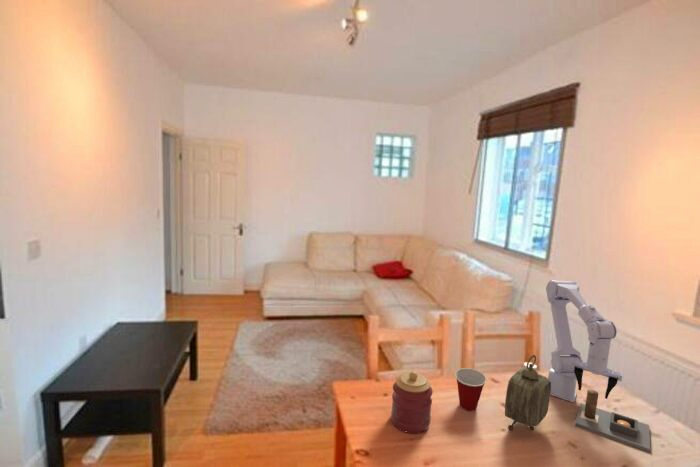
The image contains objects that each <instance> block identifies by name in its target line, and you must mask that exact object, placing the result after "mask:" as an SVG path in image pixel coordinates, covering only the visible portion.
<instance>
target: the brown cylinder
mask: <svg viewBox="0 0 700 467" xmlns="http://www.w3.org/2000/svg"><path fill="white" fill-rule="evenodd" d="M598 398H599V392H598V391H596V390H593V389H587V392H586V399H585V404H586V405H585V412H584V416H585V417H587V418H589V419H595V415H596V408H598Z"/></svg>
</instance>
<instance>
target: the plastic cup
mask: <svg viewBox="0 0 700 467" xmlns="http://www.w3.org/2000/svg"><path fill="white" fill-rule="evenodd" d="M454 376H455V379H456V384H457V391H458V400H459V401H458V402H459V406H460V408H461V407H462V408H461V409H463V410H465V411H467V410H468V412H472V411H473V412H474V411H476V409H477V407H478V404H479V401H480V399H481V396H482V391H483V388H484V386H485V384H486V383H487V376H486V375H485V374H484V373H483V372H481V371H479V370H477V369H474V368H469V367H463V368H458V369H457V370H456V371H455V373H454Z"/></svg>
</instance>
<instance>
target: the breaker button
mask: <svg viewBox="0 0 700 467" xmlns="http://www.w3.org/2000/svg"><path fill="white" fill-rule="evenodd" d="M617 423H618V424H621V425H624V426H627V427H630V426H631V425H630V424H629V423H628V422H626V421H623V420H618V421H617Z"/></svg>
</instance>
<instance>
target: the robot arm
mask: <svg viewBox="0 0 700 467" xmlns="http://www.w3.org/2000/svg"><path fill="white" fill-rule="evenodd" d="M545 291H546V296H547V302H548V303H550V309H551V315H552V316H551V317H552V321H553V327H554V333H555V340H556V345H557V347H556V348H554V350H552V352H551V353H550V354H551V355H550V356H551V360H550V365H551V367H550V368H549V372H548V377H547V378H548V379H549V381H550V382H551V391H550V396H552V397H556V398H559V399H562V400H565V401H567V402H571V403H575V402H576V397H577V391H576V387H578V388H577V390H578V391H582V387H583V374H584V371H585V372H589V373H591V374H594V375H596V376H598V375H601V376H603V377H606V378H608V380H607V385H606V386H607V387H606V390H605V394H604V399H607V400H608V399H609V395H610V393H611V392H612V390H613V389H614V388H615V387H616V385H617V384H618V382H622V381H623V375H624V374H623V373H621V372H617V371H615V370H612V369H609V368H608V362H609V355H610V348H611V341H612V339H613V340H614V339H615V338H616V337H617V332H618V330H617V328H616V325H615V323H614V322H613V321H611V320H608V319H605V318H604V317H603V316H602V315H601V313H600V312H599V311H598V309H597V308H596V307H595V306H594V305H591V304H588V303H587V302H586V299H584V297H583V296H582V294H581V293H580V286H579V284H578V283H577V282H576V281H575V280H553V279H550V280H549V281H548V282H547V284H546V286H545ZM570 303H572V304H573V305H574V307H575V308H576V309H577V310H578V312H577V315H578V316H579V318H580V319H581V320H582V321H583V323H584V324H585V325H586V326H587V328H586V331H587V334H588V342H589V345H588V351H587V352H588V353H587V359H586V362H584V360H583V359H582V356H581V352H580V351H578V350H577V348H574V347H573V346H574V345H573V342H572V341H573V340H572V335H571V334H572V333H571V330H570V324H569V318H568V314H567V313H568V312H567V308H566V307H567V305H568V304H570Z"/></svg>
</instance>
